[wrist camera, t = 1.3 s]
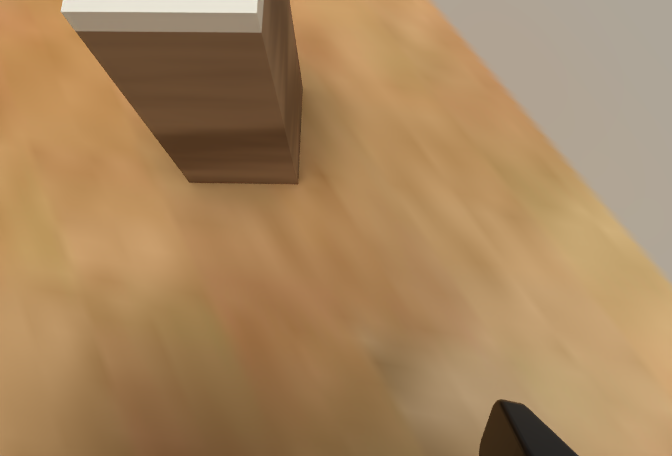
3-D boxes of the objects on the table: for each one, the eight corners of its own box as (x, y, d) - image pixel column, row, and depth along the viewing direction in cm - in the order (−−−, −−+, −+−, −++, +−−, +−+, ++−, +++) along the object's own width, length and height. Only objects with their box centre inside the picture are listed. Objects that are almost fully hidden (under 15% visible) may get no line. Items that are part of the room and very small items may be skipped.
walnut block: (298, 184, 26) (256, 13, 14) (189, 182, 26) (60, 11, 14) (302, 87, 27) (268, -141, 15) (199, 85, 27) (89, -141, 16)
